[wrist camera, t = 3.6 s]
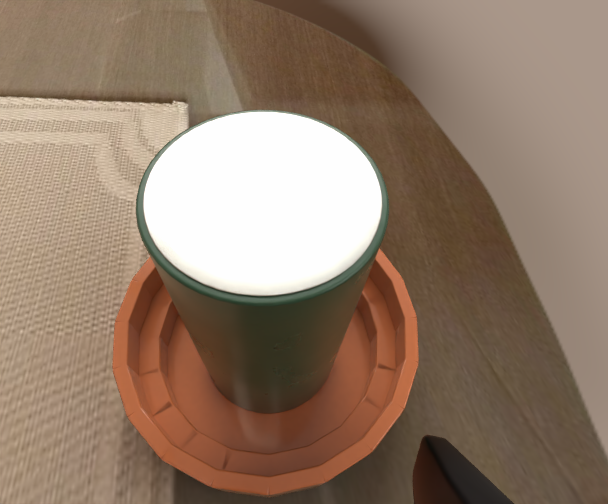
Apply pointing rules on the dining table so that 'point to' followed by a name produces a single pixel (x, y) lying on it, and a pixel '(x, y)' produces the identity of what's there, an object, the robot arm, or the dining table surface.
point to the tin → (264, 247)
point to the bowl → (264, 426)
